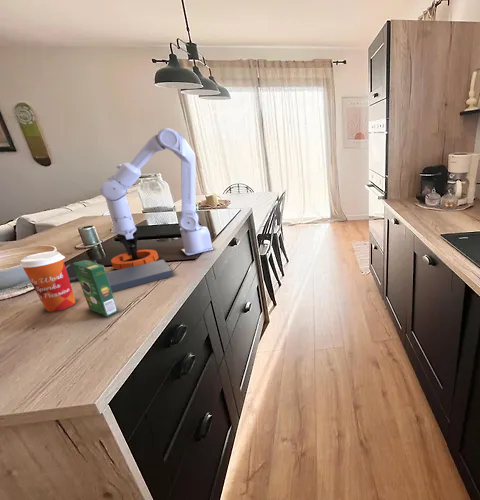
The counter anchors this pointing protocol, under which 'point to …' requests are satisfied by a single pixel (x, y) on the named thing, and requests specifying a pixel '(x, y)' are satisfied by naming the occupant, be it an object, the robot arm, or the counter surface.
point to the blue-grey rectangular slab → (138, 275)
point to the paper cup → (49, 279)
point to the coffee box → (95, 287)
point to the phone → (73, 271)
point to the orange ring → (120, 264)
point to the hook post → (133, 252)
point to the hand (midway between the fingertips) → (132, 253)
